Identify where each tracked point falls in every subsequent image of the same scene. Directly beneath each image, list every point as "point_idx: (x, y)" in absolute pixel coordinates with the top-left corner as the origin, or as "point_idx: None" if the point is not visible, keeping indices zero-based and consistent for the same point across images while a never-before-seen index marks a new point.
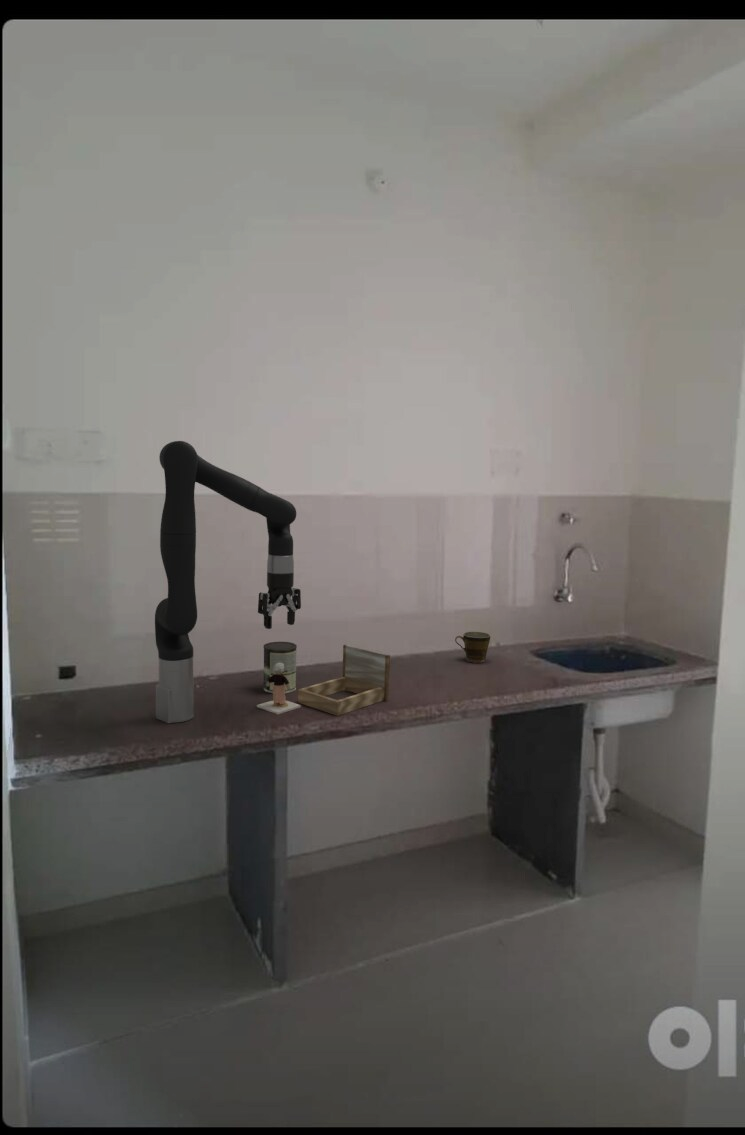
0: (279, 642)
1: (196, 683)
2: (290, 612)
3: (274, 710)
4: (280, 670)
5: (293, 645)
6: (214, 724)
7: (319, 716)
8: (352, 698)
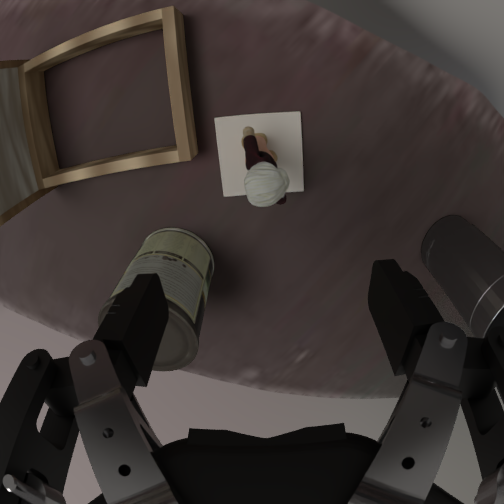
0: None
1: (293, 367)
2: (132, 358)
3: (297, 128)
4: (271, 164)
5: None
6: (435, 163)
7: (222, 34)
8: (117, 22)
